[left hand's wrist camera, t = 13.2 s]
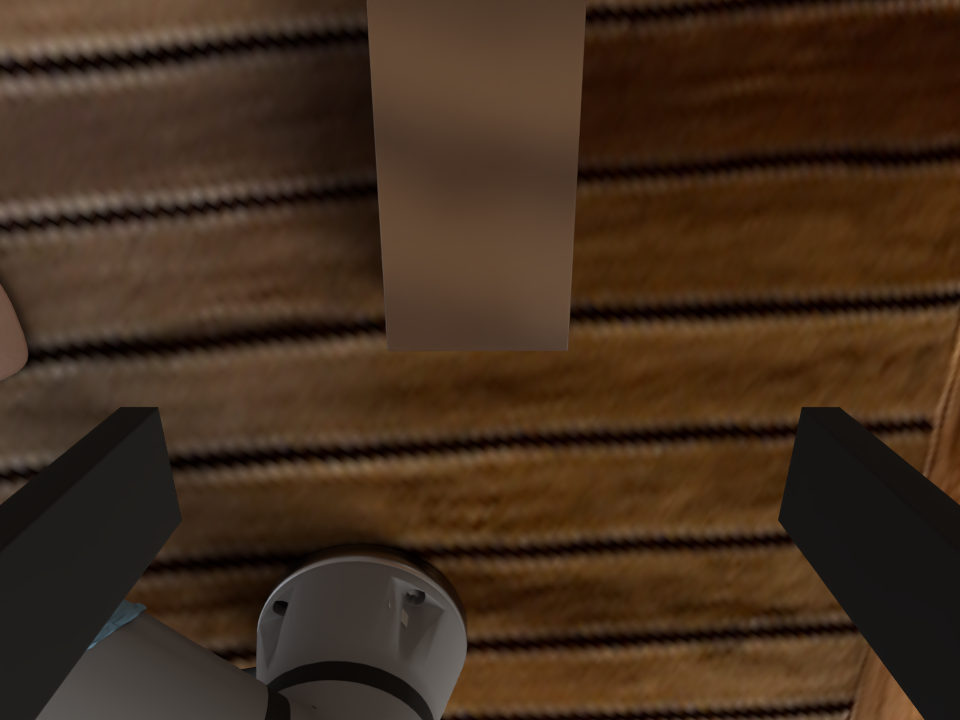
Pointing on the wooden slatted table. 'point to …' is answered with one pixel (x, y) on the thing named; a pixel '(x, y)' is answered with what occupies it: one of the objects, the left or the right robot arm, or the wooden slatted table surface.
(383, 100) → the beam
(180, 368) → the wooden slatted table surface
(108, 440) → the left robot arm
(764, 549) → the wooden slatted table surface
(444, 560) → the wooden slatted table surface
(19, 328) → the anatomical model
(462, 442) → the wooden slatted table surface
